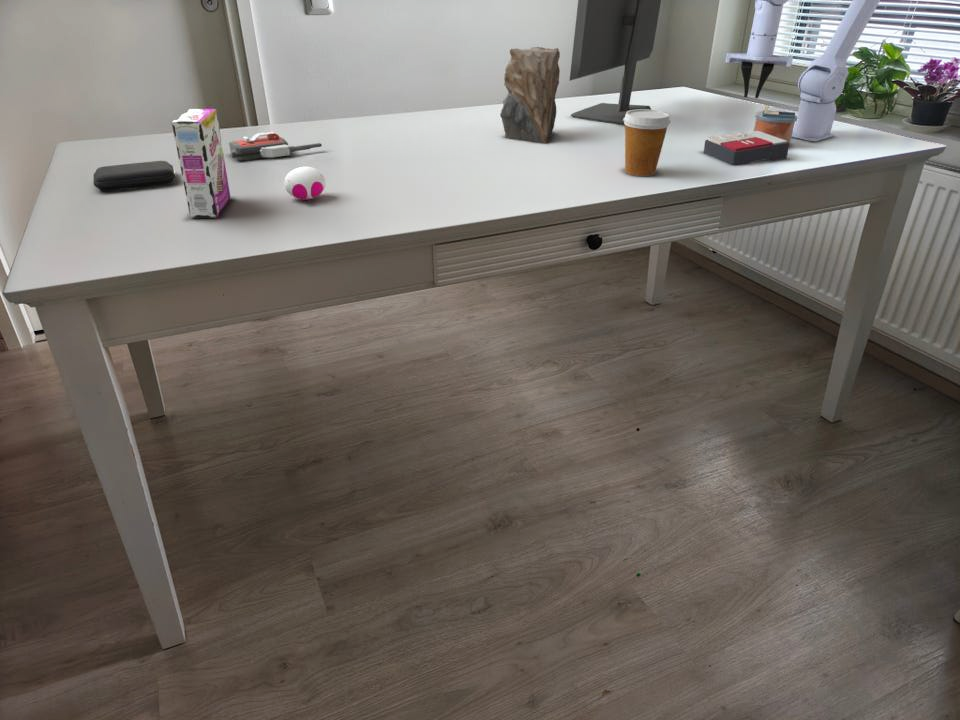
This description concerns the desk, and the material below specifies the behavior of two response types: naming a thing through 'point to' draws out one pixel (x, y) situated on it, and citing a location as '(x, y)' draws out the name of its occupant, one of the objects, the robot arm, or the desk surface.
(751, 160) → the dark grey flat box
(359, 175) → the desk surface
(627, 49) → the computer monitor
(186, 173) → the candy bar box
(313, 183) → the stress ball
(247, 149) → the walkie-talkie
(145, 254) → the desk surface
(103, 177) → the carrying case
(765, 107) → the lid slider
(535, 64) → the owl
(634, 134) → the disposable coffee cup
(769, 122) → the tumbler
